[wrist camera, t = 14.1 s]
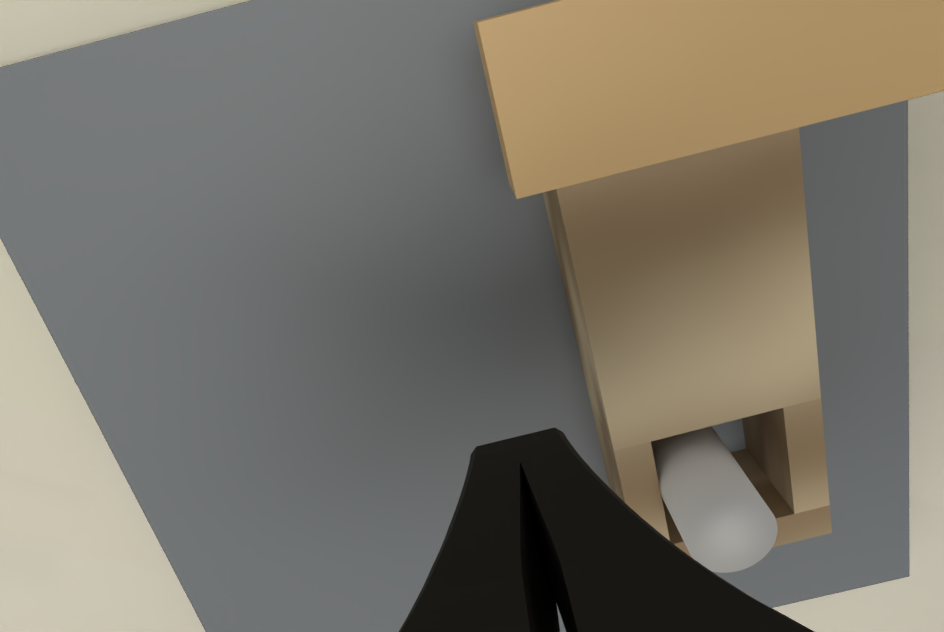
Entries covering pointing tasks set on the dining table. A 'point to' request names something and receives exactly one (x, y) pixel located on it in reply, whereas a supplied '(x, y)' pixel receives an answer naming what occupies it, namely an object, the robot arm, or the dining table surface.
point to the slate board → (438, 269)
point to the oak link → (700, 321)
